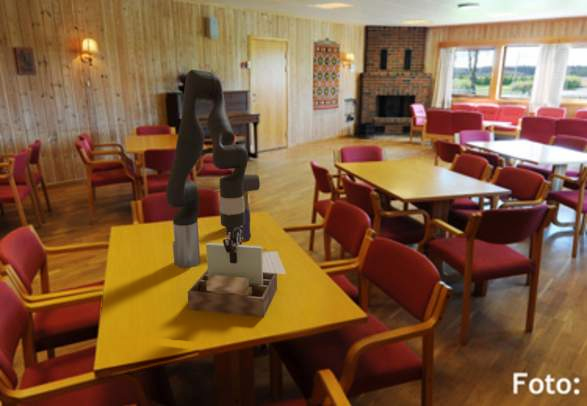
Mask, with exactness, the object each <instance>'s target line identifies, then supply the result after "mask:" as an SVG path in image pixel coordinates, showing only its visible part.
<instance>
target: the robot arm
mask: <svg viewBox="0 0 587 406" xmlns="http://www.w3.org/2000/svg"><path fill="white" fill-rule="evenodd" d="M183 92H184V93H183V102H182V113H181V117H180V118H181V119H180V124H179V128H178V133H177V139H176V143H175V144H176V145H175V153H174V158H173V162H172V168H171V171H170V175H169V177H168V181H167V185H166V189H165V198H166V199H165V200H166V202H167V204H168V205H169V206H170V207H171V208H179V209H178V210H177V211H176V212H175V213H174V214H173V216H172V225H173V226H172V227H173V228H172V229H173V236H174V237H173V239H174V241H172V251H173V254H172V255H173V264H174V266H177V267H178V268H184V269H189V268H190V269H191V268H195V267H197V266H199V265H200V263H201V251H200V236H199V225H198V224H199V223H198V221H199V220H198V217H199V214H200V206H199V205H200V197H199V196H200V193H199V189H198V186H197V184H196V183H195V182H194V181H193V180H191V179H188V176H189V174H190V172H191V171H192V170H193V168H194V167H195V165H196V164H197V162H198V161H199V160H200V157H201V156H202V153H203V151H204V150H203V149H204V145H205V141H206V140H205V139H206V135H205V132H204V128H203V127H202V126H203V125H202V124H201V122H200V121H199V118H198V114H197V111H196V110H197V109H196V103H197V100H204V101H211V102H212V104H213V106H212V109H211V111H210V112H209V115H208V117H207V119H206V120H207V121H206V122H207V123H206V124H207V129H208V132H209V135H210V139H211V143H212V163H213V165H214V167H215V168H216V169H218V170H231V169H232V170H233V171H232V173H230V174H227V175H225V176H223V177H221V178H220V180H219V195H220V197H219V209H220V211H219V212H220V213H219V214H220V216H219V217H220V225H221V226H222V227H224V228H226V230H225V238H223V240H222V244H224V247H225V250H226V252H227V253H229V254H230V263H234V264H236V263H237V245H242V240H243V237H242V234H243V227H240V226H243V225H244V224H245V203H244V196H243V180H244V175H246V174H245V173H246V169H247V166H248V161H249V153H248V150H247V148H246V147H245V146H244V145H242V144H233V143H234V142H235V139H236V137H235V136H236V135H235V133H234V130H233V128H232V127H233V126H232V125H231V122H230V120H229V119H230V118H229V116H228V112H227V106H226V105H227V104H226V101H225V94H224V89H223V84H222V80H221V78H220V76H219V75H218V74H217V73H215V72H211V71H205V70H197V69H191V70H189V71H188V73H187V74H186V78H185V83H184V90H183Z"/></svg>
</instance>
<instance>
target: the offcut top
mask: <svg viewBox="0 0 587 406" xmlns="http://www.w3.org/2000/svg"><path fill="white" fill-rule="evenodd" d="M206 287H207V291H215V292H227V293H238V294H245V292H246V290H247V289H248V287H249V278H244V277H232V276H220V275H212V276H211V277H210V278H209V279H208V280H207V281H206Z"/></svg>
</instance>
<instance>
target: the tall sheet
mask: <svg viewBox="0 0 587 406" xmlns="http://www.w3.org/2000/svg"><path fill="white" fill-rule="evenodd" d="M205 247H206V248H205V249H206V250H205V251H206V264H207V268H206V269H207V270H208V279H209V278H210V277H211V276H212V275H220V276H232V277H244V278H249V284H256V285H263V258H262V253H263V250H262V249H263V246H261V245H247V244H241V245H237V263H236V264H234V263H230V254H229V253H227V252H226V250H225V247H224V244H223V243H220V242H219V243H218V242H217V243H215V242H207V243H206V244H205Z"/></svg>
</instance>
